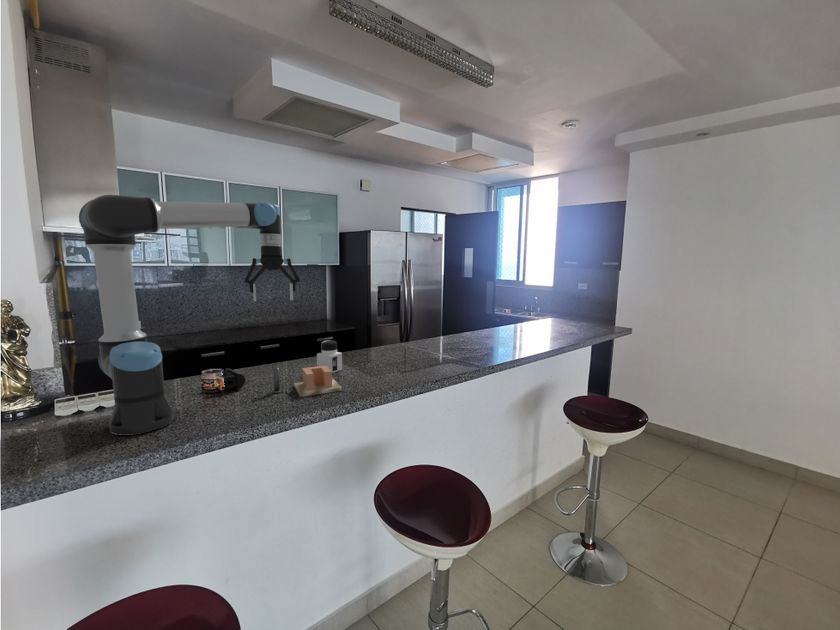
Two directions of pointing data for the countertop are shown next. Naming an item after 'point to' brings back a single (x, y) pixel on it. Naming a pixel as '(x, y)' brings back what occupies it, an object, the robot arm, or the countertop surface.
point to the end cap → (232, 380)
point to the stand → (276, 380)
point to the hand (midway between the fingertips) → (273, 300)
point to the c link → (316, 377)
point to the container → (330, 356)
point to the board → (316, 388)
